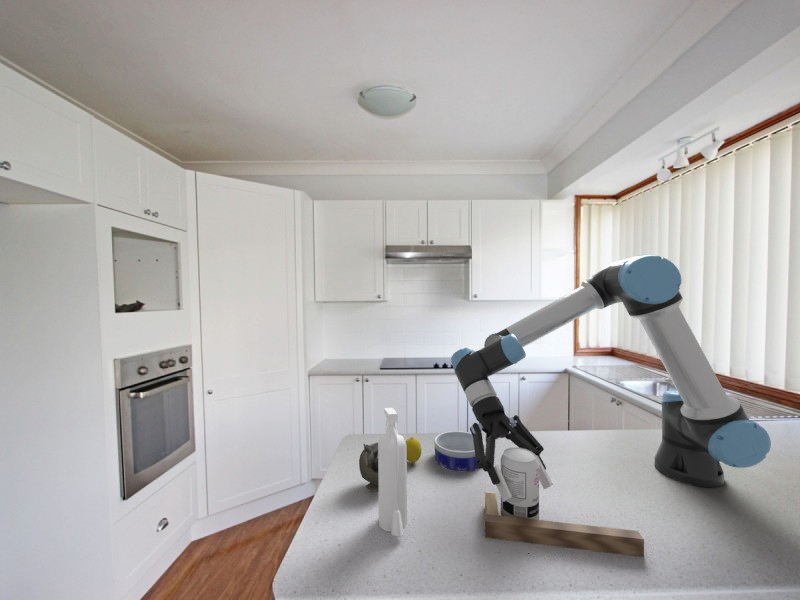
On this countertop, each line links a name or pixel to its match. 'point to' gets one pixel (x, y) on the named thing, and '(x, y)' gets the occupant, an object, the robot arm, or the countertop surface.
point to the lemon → (413, 449)
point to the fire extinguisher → (392, 477)
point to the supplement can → (520, 483)
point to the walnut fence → (560, 533)
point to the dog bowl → (455, 451)
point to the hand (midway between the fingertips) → (528, 493)
